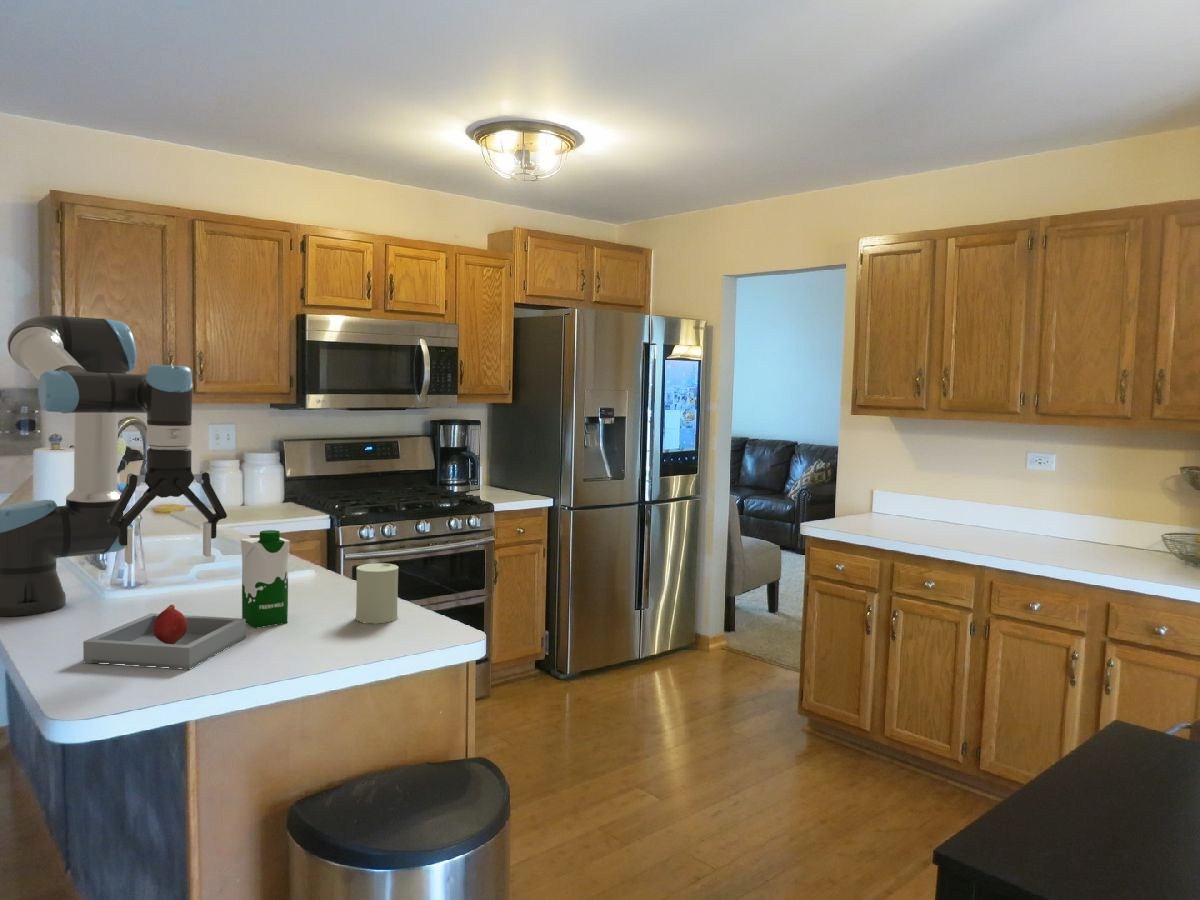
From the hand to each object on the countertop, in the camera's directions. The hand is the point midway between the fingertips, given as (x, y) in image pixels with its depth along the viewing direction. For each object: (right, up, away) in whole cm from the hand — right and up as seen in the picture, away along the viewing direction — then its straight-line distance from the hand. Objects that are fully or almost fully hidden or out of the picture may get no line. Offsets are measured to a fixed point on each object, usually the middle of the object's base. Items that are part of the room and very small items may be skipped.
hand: (168, 559), depth 161 cm
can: (+32, -17, +28) cm, 46 cm away
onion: (0, -17, +1) cm, 17 cm away
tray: (0, -18, +1) cm, 18 cm away
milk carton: (+9, -17, +22) cm, 29 cm away
